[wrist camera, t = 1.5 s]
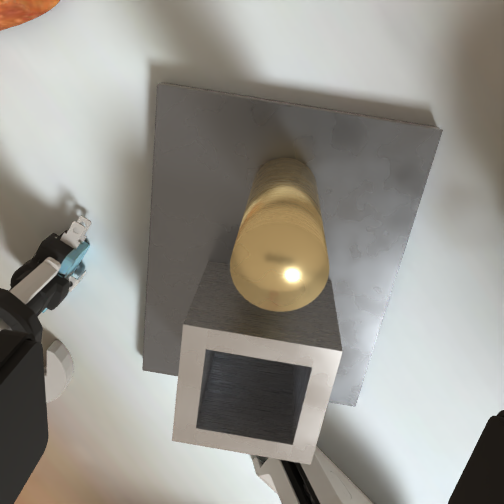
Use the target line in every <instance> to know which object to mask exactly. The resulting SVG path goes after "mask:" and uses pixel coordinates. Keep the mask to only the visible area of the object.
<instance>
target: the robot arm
mask: <svg viewBox="0 0 504 504" xmlns="http://www.w3.org/2000/svg"><path fill="white" fill-rule="evenodd" d="M47 442H48V422H47V407H46V392H45V377H44V362H43V348H42V344H41V343H40V342H37V341H35V337H34V335H33V334H31V333H26V332H20V331H14V330H8V329H3V330H1V331H0V504H14V502H15V500H16V499H17V497H18V495H19V494H20V492H21V490H22V489H23V487H24V485H25V484H26V482H27V480H28V478H29V477H30V475H31V473H32V472H33V470H34V468H35V467H36V465H37V463H38V462H39V460H40V458H41V457H42V455H43V453H44V451H45V448H46V445H47ZM448 504H504V410H502V411H500V412H499V413H498V415H497V416H492V417H490V419H489V420H488V422H487V424H486V426H485V428H484V430H483V432H482V434H481V436H480V438H479V440H478V442H477V444H476V446H475V448H474V451H473V453H472V455H471V457H470V459H469V461H468V463H467V465H466V467H465V469H464V471H463V473H462V475H461V477H460V479H459V481H458V483H457V485H456V487H455V489H454V491H453V493H452V495H451V497H450V499H449V502H448Z"/></svg>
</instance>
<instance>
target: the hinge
mask: <svg viewBox="0 0 504 504" xmlns="http://www.w3.org/2000/svg"><path fill="white" fill-rule="evenodd" d="M252 461H253V464H254V468H255V471H256V474H257V476H258V477H260V478H261V479H262V480H263V481H264V482H265V483H266V484H267V485H268V486H269V487H270V488H271V489H273V490H274V491H275V492H276V493H277V494H278V495H279V498H280V500H281V503H282V504H374V503H373V502H372V501H371V500H370V499H369V498H368V497H367V496H366V495H365V494H364V493H363V492H362V491H361V490H360V489H359V488H358V487H357V486H356V485H355V484H354V483H353V482H352V481H351V480H350V479H349V478H348V477H347V476H346V475H345V474H344V473H343V472H342V471H341V470H340V469H339V468H338V467H337V466H336V465H335V464H334V463H333V462H332V461H331V460H330V459H329V458H328V457H327V456H326V455H325V454H324V453H323V452H322V451H321V450H320V449H319V448H318V447H317V446H316V448H315V451H314V455H313V459H312V462H311V465H309V464H303V463H298V462H295V463H294V462H292V461H286V460H280V459H274V458H268V459H267V460H266V461H265V463H263V462H262V461H261V460H260V459H259V458H258V457H255V458H254V459H253V460H252Z"/></svg>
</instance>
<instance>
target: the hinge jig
mask: <svg viewBox="0 0 504 504" xmlns="http://www.w3.org/2000/svg"><path fill="white" fill-rule="evenodd" d="M442 131H443V130H442V129H440V128H438V127H435V126H429V125H423V124H416V123H410V122H404V121H398V120H392V119H385V118H379V117H373V116H367V115H361V114H354V113H348V112H342V111H336V110H330V109H323V108H317V107H311V106H305V105H299V104H292V103H286V102H280V101H274V100H268V99H261V98H255V97H249V96H243V95H237V94H230V93H224V92H218V91H212V90H206V89H199V88H193V87H187V86H181V85H175V84H168V83H159V84H158V86H157V105H156V124H155V142H154V161H153V180H152V199H151V218H150V237H149V256H148V275H147V294H146V313H145V332H144V351H143V370H144V371H150V372H156V373H162V374H168V375H174V376H178V384H177V394H176V405H175V415H174V426H173V436H172V441H176V442H182V443H188V444H194V445H199V446H205V447H211V448H217V449H223V450H228V451H234V452H240V453H246V454H251V455H257V456H263V457H269V458H274V459H280V460H286V461H292V462H298V463H303V464H309V465H311V462H312V459H313V455H314V451H315V448H316V444H317V441H318V437H319V434H320V430H321V427H322V423H323V419H324V416H325V412H326V409H327V405H328V402H331V403H337V404H343V405H349V406H356V403H357V399H358V396H359V393H360V390H361V387H362V384H363V380H364V377H365V374H366V371H367V368H368V365H369V361H370V358H371V355H372V352H373V349H374V346H375V342H376V339H377V336H378V333H379V330H380V327H381V324H382V320H383V317H384V314H385V311H386V308H387V305H388V301H389V298H390V295H391V292H392V289H393V286H394V282H395V279H396V276H397V273H398V270H399V267H400V263H401V260H402V257H403V254H404V251H405V248H406V244H407V241H408V238H409V235H410V232H411V229H412V225H413V222H414V219H415V216H416V213H417V210H418V206H419V203H420V200H421V197H422V194H423V191H424V188H425V184H426V181H427V178H428V175H429V172H430V169H431V165H432V162H433V159H434V156H435V153H436V150H437V146H438V143H439V140H440V137H441V134H442ZM277 158H293V159H296V160H299V161H300V162H302V163H304V164H305V165H306V166H307V167H308V168H309V169H310V170H311V171H312V173H313V175H314V177H315V180H316V184H317V190H318V196H319V203H320V209H321V215H322V221H323V228H324V234H325V240H326V246H327V253H328V259H329V276H328V280H327V283H326V285H325V287H324V289H323V290H322V292H321V293H320V294H319V295H318V297H317V298H315V299H314V300H313V301H312V302H310V303H309V304H307V305H305V306H303V307H301V308H298V309H296V310H291V311H284V312H277V311H270V310H265V309H262V308H260V307H257V306H255V305H253V304H252V303H250V302H249V301H248V300H246V299H245V298H244V297H243V296H242V295H241V294H240V293H239V291H238V290H237V289H236V287H235V285H234V283H233V280H232V277H231V273H230V260H231V255H232V252H233V248H234V245H235V242H236V238H237V235H238V232H239V228H240V225H241V221H242V218H243V215H244V211H245V208H246V205H247V201H248V198H249V195H250V191H251V188H252V184H253V181H254V178H255V176H256V174H257V172H258V171H259V169H260V168H261V167H262V166H263V165H265V164H266V163H267V162H269V161H271V160H274V159H277Z"/></svg>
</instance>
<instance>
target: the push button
mask: <svg viewBox="0 0 504 504" xmlns="http://www.w3.org/2000/svg"><path fill="white" fill-rule="evenodd" d="M80 222H84V223H85V224H86V227H84V226H83V225H81V224H80ZM90 225H91V221H90V220H88V219H86V218H85V217H83V216H80V217H79V219H78V220H77V222H76V221H73V223H72V225H71V226H70V228H69V230H68V231H67V230H66V231H65V232H64V233H63V234H61V235H60V236H58V235H56V234H55V233H53V234H52V235H50V236H49V237H48V238H46V239H45V240H44V241H43V242H42V243H41V245H40V246H39V248H38V250H37V252H36V253H35V255H34V257H33V258H32V260H29V261H28V262H26V263H25V264H24V265H22V266H21V267H20V268H19V269H18V270H16V271H15V273H14V274H13V276H12V278H11V284H10V286H11V289H10V290H9V291H8V290H5V289H1V288H0V331H1V330H3V329H8V330H14V331H20V332H26V333H31V334H33V335H34V337H35V341H37V342H40V343H41V339H42V330H43V329H42V325H41V323H40V321H39V319H38V316H39V314H40V313H41V312H42V313H44V312H45V311H46V310H47V309H49V310H53V309H55V308H56V307H57V306H58V305H59V304H60V303H61V302H62V301H63V299H64V298H65V297H66V296H67V294H68V292H71V291H72V290H73V289H74V288H75V287H76V286H77V284H78V283H79V282H80V281H81V279H82V278H83V276H84V275H85V273H86V270H85V271H84V272H83V273H82V274H81V275H80V277H79V278H78V279H76V278H74V277H73V276H72V275H73V273H74V272H75V270H76V268H77V267H78V265H79V263H80V262H81V260H82V258H83V257H84V255H85V253H86V252H87V250H88V248H89V246H90V245H89V244H88V243H86V242H84V240H85V238H86V237H87V236H85V233H86V232H87V230H88V228H89V227H90Z"/></svg>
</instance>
